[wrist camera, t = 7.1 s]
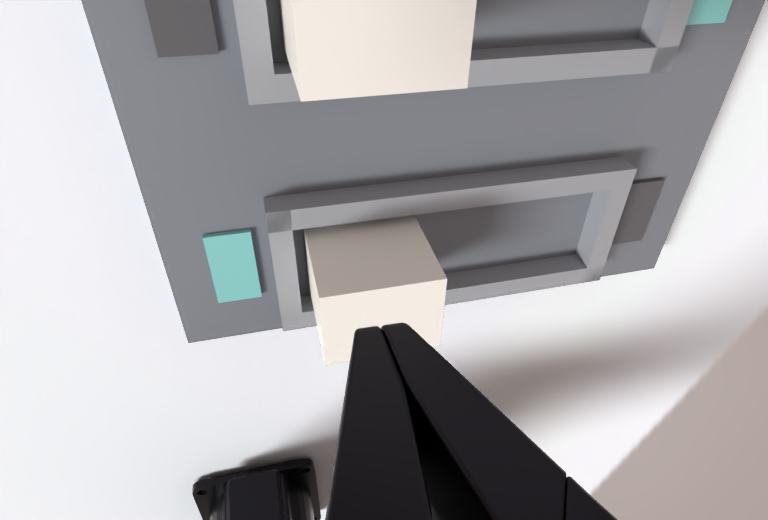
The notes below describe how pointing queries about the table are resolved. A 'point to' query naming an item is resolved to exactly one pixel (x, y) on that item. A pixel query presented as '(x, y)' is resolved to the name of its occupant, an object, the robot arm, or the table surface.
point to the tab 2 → (373, 281)
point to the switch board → (415, 146)
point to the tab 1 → (377, 46)
